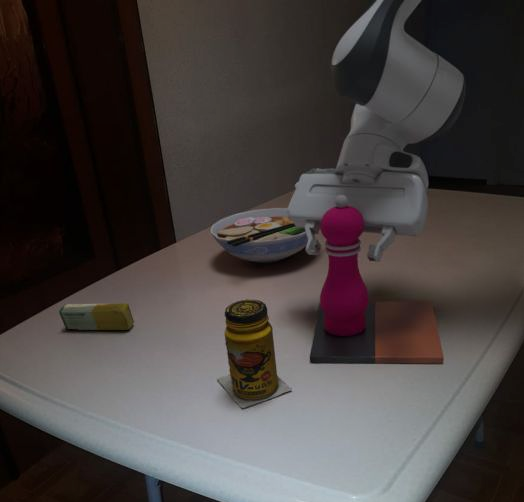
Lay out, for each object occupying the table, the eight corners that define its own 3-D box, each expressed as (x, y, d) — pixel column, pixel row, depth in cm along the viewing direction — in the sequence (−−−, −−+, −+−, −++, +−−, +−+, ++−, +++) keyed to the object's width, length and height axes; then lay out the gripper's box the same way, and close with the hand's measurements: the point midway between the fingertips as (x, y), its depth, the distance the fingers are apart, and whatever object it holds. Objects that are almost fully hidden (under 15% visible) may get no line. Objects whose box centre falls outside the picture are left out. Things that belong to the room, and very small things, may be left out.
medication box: (65, 331, 95) (57, 311, 93) (72, 322, 97) (64, 303, 95) (129, 330, 92) (122, 310, 90) (135, 321, 95) (129, 301, 92)
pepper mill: (354, 342, 80) (351, 204, 71) (311, 331, 84) (304, 200, 75) (377, 322, 85) (378, 190, 75) (336, 312, 89) (332, 186, 79)
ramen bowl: (284, 231, 132) (281, 197, 128) (349, 254, 115) (348, 215, 111) (191, 260, 120) (185, 223, 116) (248, 289, 103) (243, 247, 99)
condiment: (242, 409, 70) (230, 324, 64) (216, 379, 77) (204, 300, 71) (292, 391, 73) (286, 308, 67) (263, 363, 79) (255, 286, 73)
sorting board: (431, 306, 90) (431, 300, 90) (443, 363, 75) (443, 357, 74) (320, 307, 94) (320, 302, 93) (310, 362, 78) (309, 356, 78)
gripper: (295, 156, 83) (268, 240, 81) (432, 157, 73) (406, 253, 71) (310, 179, 89) (285, 258, 86) (440, 183, 79) (416, 273, 76)
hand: (341, 256), depth 79 cm, fingers open, 8 cm apart
